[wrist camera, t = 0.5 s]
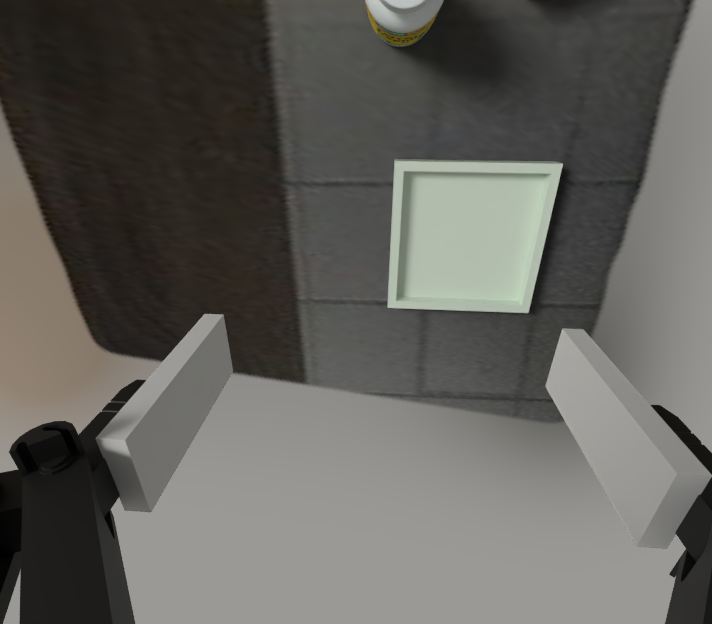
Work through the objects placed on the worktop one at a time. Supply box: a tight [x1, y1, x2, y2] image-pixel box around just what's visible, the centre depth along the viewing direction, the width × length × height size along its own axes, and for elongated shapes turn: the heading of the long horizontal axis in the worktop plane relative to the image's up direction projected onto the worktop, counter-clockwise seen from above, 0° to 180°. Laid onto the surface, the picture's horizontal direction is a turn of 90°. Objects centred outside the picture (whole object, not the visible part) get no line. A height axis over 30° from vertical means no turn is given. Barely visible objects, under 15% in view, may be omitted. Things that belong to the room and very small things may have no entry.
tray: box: [388, 159, 563, 313], centre depth 37 cm, size 14×14×2 cm
